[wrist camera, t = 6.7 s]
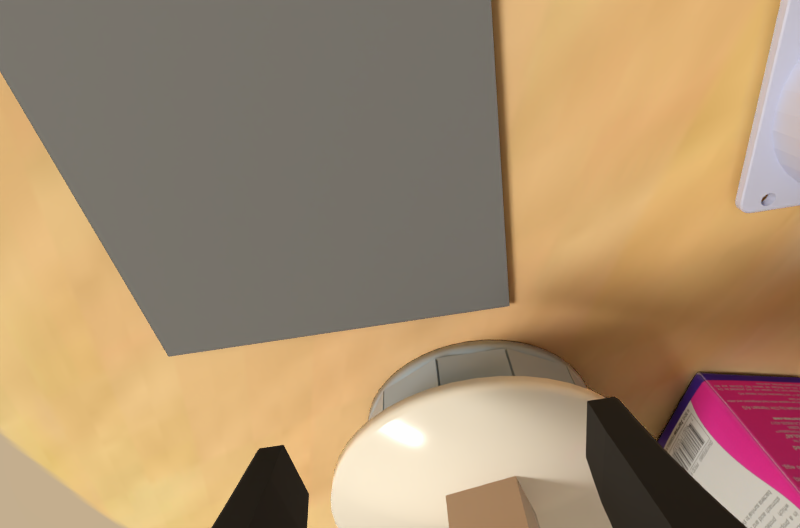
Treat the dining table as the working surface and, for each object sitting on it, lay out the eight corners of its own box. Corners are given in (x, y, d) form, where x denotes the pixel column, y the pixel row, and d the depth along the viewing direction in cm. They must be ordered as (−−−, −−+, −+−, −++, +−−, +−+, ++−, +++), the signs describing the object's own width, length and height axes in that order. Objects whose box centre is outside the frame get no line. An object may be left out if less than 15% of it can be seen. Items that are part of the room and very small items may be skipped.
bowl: (595, 323, 21) (635, 387, 18) (586, 476, 28) (613, 546, 24) (344, 359, 22) (336, 427, 19) (390, 500, 28) (390, 570, 25)
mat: (478, -171, 12) (480, -174, 12) (508, 301, 21) (509, 306, 20) (-62, -48, 14) (-71, -49, 13) (171, 352, 22) (168, 356, 22)
